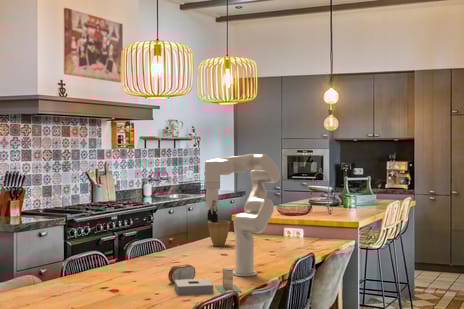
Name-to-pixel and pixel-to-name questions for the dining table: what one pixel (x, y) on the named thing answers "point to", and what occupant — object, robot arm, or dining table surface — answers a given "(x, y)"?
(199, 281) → the grey plate with hole
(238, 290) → the mat
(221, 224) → the plant pot
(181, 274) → the tin
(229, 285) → the plug
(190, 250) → the dining table surface
